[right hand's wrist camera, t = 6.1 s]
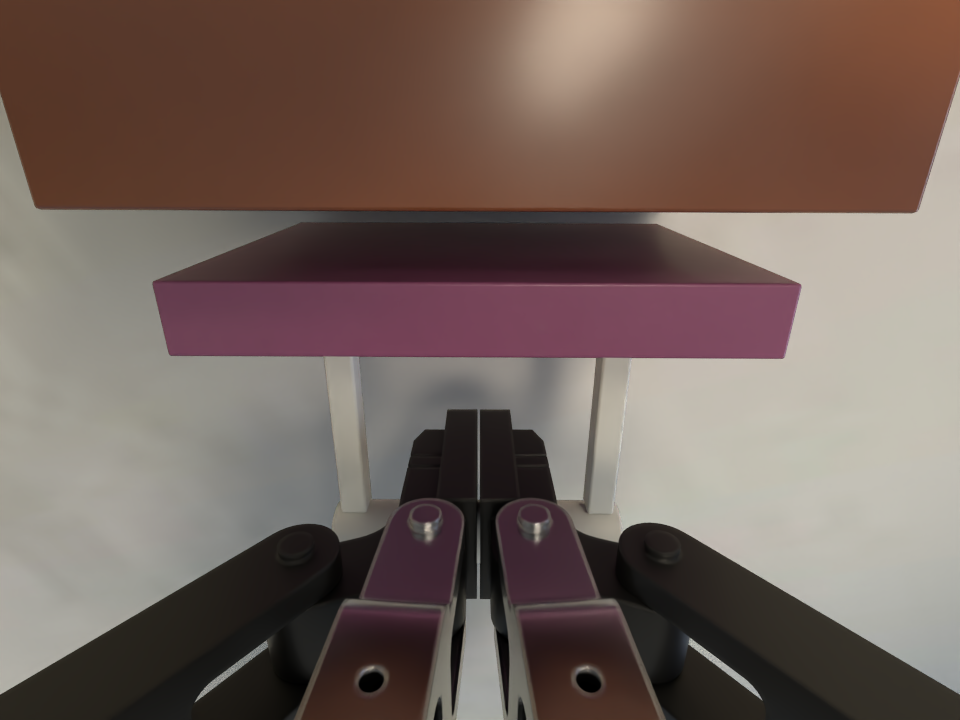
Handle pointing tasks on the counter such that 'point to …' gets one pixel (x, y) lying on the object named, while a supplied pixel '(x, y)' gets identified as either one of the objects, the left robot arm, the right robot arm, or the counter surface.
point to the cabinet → (479, 104)
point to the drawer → (477, 318)
